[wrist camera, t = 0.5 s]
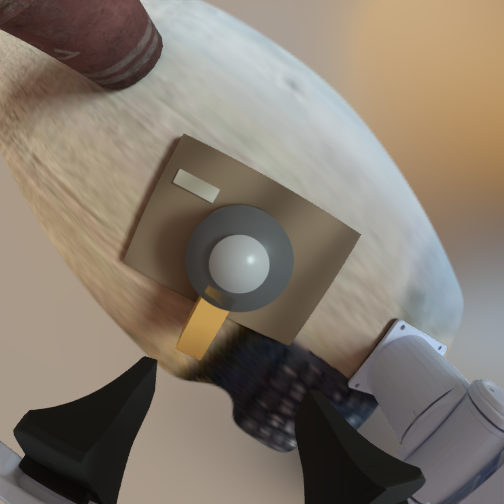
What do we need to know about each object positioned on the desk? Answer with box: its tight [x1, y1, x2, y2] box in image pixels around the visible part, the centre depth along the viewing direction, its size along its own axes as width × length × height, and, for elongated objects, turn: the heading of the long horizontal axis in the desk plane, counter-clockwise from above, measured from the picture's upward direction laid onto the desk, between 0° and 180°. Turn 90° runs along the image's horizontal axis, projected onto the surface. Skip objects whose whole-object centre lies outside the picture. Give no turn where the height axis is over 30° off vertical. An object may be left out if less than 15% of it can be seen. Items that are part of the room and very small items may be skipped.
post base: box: [123, 134, 361, 346], centre depth 19 cm, size 14×10×1 cm
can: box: [0, 0, 163, 89], centre depth 9 cm, size 6×6×14 cm
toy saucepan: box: [175, 204, 294, 360], centre depth 17 cm, size 10×6×4 cm, turn 151°
